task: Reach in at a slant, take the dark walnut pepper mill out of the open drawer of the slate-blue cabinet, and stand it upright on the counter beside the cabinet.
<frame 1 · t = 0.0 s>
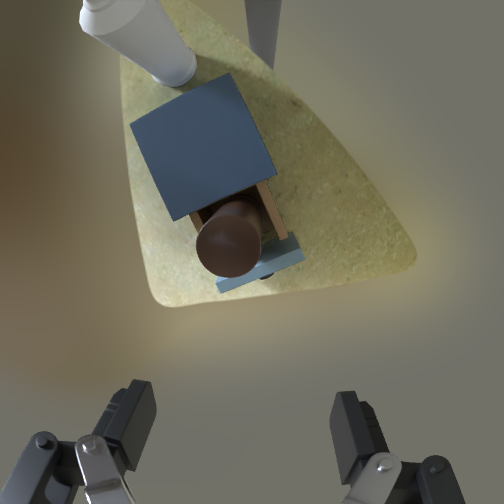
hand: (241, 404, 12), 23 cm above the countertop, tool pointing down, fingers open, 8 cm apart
cabinet: (215, 150, 31), on the countertop
pepper mill: (242, 213, 31), point 2 cm above the countertop, touching drawer
bottle: (176, 68, 28), on the countertop
drawer: (247, 232, 29), point 4 cm above the countertop, slide at 6.5 cm, touching pepper mill
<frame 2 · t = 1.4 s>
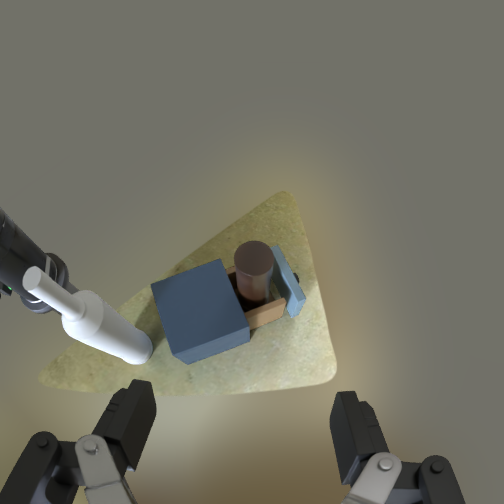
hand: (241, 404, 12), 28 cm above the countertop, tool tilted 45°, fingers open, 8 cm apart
cabinet: (206, 323, 42), on the countertop
pepper mill: (253, 301, 42), point 2 cm above the countertop, touching drawer
bottle: (138, 348, 40), on the countertop
drawer: (264, 291, 40), point 4 cm above the countertop, slide at 6.5 cm, touching pepper mill
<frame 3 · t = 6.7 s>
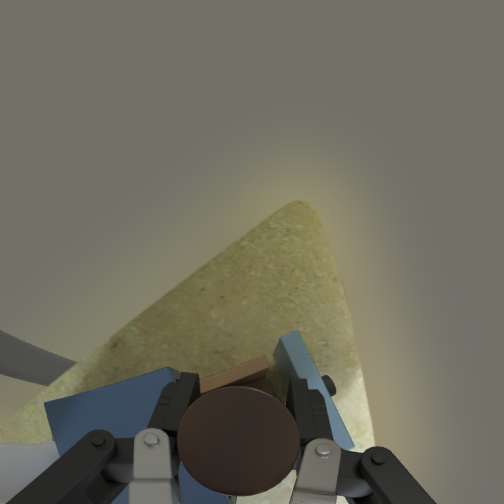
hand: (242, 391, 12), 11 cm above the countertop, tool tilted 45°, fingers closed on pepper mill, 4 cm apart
cabinet: (164, 446, 20), on the countertop
pepper mill: (245, 420, 19), point 2 cm above the countertop, touching drawer, gripper
bottle: (65, 465, 18), on the countertop
drawer: (267, 414, 18), point 4 cm above the countertop, slide at 6.5 cm, touching pepper mill
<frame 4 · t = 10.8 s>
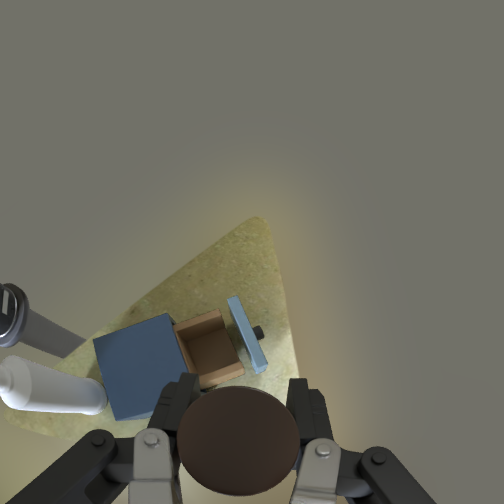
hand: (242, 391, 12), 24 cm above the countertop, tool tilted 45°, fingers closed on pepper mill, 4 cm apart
cabinet: (162, 375, 35), on the countertop
pepper mill: (245, 420, 19), point 15 cm above the countertop, touching gripper
bottle: (93, 397, 33), on the countertop
drawer: (222, 347, 33), point 4 cm above the countertop, slide at 6.5 cm
when the fingers open (9 cm above the countertop, at t = 15.2 s): pepper mill stays where it is, on the countertop.
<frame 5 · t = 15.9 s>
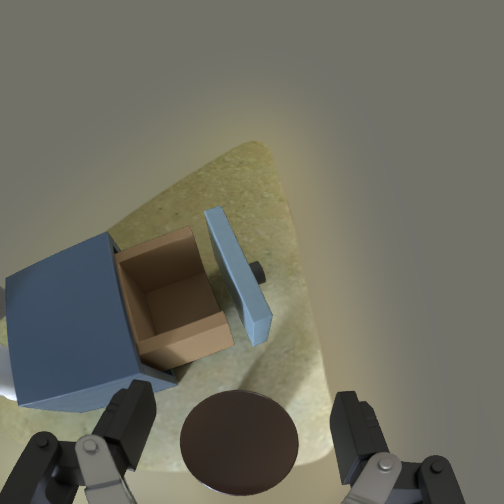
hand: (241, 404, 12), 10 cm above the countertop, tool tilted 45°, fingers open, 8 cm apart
cabinet: (110, 348, 22), on the countertop
pepper mill: (246, 422, 20), on the countertop
bottle: (23, 376, 20), on the countertop
drawer: (197, 296, 20), point 4 cm above the countertop, slide at 6.5 cm
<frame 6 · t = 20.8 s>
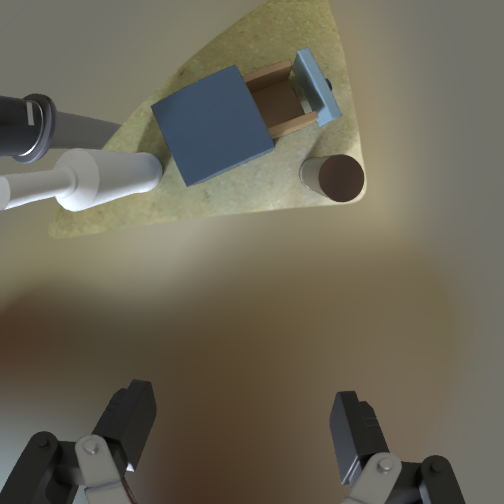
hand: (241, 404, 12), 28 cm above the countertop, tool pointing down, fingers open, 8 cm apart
cabinet: (221, 132, 35), on the countertop
pepper mill: (314, 173, 36), on the countertop
bottle: (146, 171, 37), on the countertop
drawer: (290, 97, 30), point 4 cm above the countertop, slide at 6.5 cm
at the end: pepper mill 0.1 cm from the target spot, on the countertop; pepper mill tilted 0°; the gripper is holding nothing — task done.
